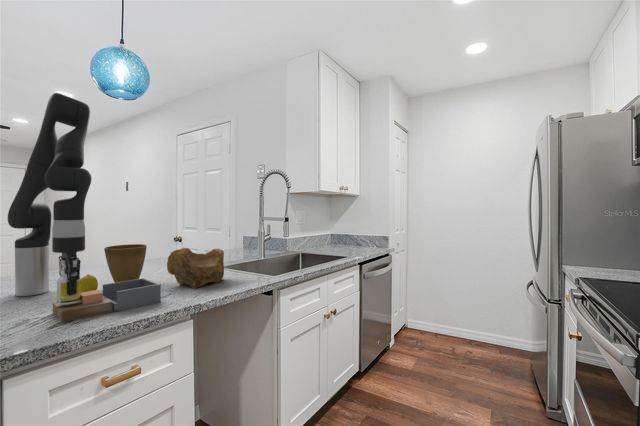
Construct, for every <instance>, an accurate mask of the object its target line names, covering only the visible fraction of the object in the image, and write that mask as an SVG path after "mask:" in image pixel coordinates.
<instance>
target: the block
mask: <svg viewBox="0 0 640 426" xmlns="http://www.w3.org/2000/svg"><path fill="white" fill-rule="evenodd" d="M99 301H103V291H100V290H99V289H97V290H94V291H88V292H82V293H81V300H80V303H81V304H89V303H94V302H99Z"/></svg>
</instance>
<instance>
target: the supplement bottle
mask: <svg viewBox="0 0 640 426" xmlns="http://www.w3.org/2000/svg"><path fill="white" fill-rule="evenodd" d="M61 275H62V277H60V276H59V277H58V278H57V280H56V281H57V283H56V284H57V286H56V293H57V295H56V300H57V301H56V302H57V304H59V305H69V304H74V303H78V302H80V300H81V279H82V277H80V278H79V280H78V281H77V293H76V294H74V295H67V282H66V275H64V274H63V270H61ZM71 276H74V274H71Z"/></svg>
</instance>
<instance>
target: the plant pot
mask: <svg viewBox="0 0 640 426" xmlns="http://www.w3.org/2000/svg"><path fill="white" fill-rule="evenodd" d="M147 247H148V244H141V243H133V244H132V243H131V244H129V243H128V244H119V245H118V244H117V245H111V246H106V247H104V248H103V249H104V255H105V260H106V264H107V267H108V270H109V273H110V275H111V278H112V280H113V283H117V282H123V281H129V280H136V279H140V277H141V274H142V271H143V267H144V263H145V259H146V255H147Z"/></svg>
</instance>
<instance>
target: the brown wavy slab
mask: <svg viewBox="0 0 640 426" xmlns="http://www.w3.org/2000/svg"><path fill="white" fill-rule="evenodd" d="M112 312H113V302H112V301H110V300H108V299H107V298H105V297H103V301H99V302H94V303H89V304H81V303H80V302H78V303H74V304H69V305H59V304H57V301H56V302H53V303H52V314H53V315H54V316H55V317H56V318H57V319H58V320H59V321H60V322H61V323H67V322H71V321H76V320H80V319H85V318H89V317H95V316H98V315H104V314H107V313H112Z"/></svg>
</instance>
